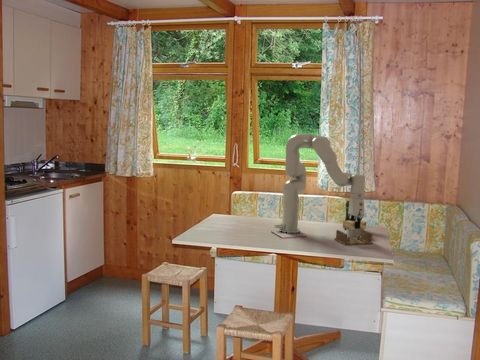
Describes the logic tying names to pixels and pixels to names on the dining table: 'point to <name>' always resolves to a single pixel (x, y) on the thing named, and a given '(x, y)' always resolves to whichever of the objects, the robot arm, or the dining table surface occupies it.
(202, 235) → the dining table surface
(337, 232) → the peg cradle
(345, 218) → the coffee jar
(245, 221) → the dining table surface
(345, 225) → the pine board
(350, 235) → the lumpy-topped squat cylinder
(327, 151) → the robot arm
